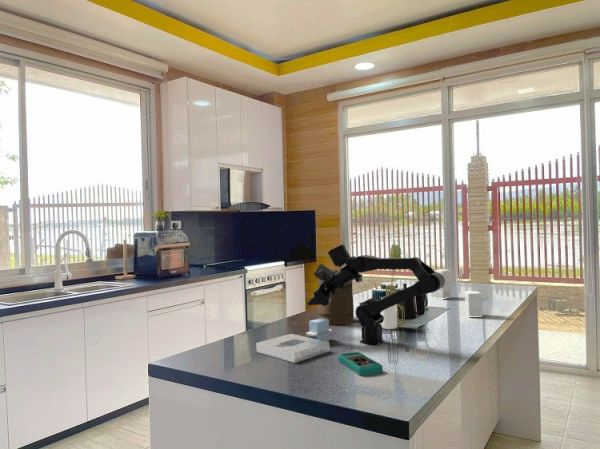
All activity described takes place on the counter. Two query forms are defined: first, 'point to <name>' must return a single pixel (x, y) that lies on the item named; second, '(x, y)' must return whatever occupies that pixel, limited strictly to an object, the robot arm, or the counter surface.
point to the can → (389, 317)
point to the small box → (473, 303)
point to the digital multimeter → (360, 363)
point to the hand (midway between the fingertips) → (311, 298)
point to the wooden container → (339, 306)
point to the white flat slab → (293, 347)
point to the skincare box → (446, 288)
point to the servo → (319, 329)
